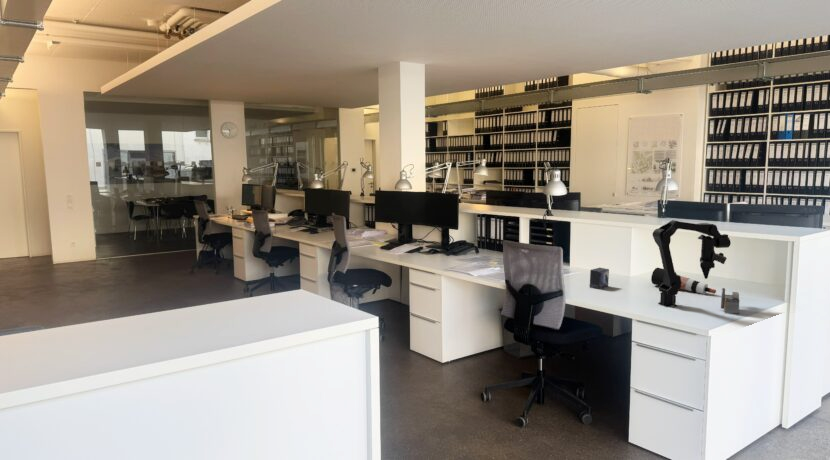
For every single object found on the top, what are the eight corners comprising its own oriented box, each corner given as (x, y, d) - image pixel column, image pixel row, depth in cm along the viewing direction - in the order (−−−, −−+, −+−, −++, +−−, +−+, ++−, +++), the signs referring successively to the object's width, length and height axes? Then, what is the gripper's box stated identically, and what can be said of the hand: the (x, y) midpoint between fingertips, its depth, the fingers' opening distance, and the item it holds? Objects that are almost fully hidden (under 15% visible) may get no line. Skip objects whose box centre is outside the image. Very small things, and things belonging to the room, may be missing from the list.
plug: (720, 310, 272) (722, 288, 271) (720, 308, 276) (721, 287, 275) (736, 311, 269) (737, 290, 268) (735, 309, 273) (736, 288, 272)
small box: (599, 289, 320) (599, 271, 318) (589, 287, 324) (589, 269, 323) (609, 286, 326) (609, 268, 325) (598, 284, 331) (599, 267, 330)
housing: (724, 312, 269) (726, 294, 268) (723, 307, 278) (724, 290, 277) (738, 314, 266) (739, 295, 265) (736, 309, 275) (738, 291, 274)
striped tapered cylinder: (711, 304, 302) (710, 289, 297) (652, 287, 327) (650, 273, 322) (719, 293, 307) (719, 279, 302) (660, 277, 332) (659, 264, 327)
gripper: (727, 252, 271) (725, 283, 273) (724, 246, 288) (723, 276, 290) (701, 250, 276) (699, 281, 278) (700, 245, 292) (699, 274, 294)
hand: (706, 278), depth 285 cm, fingers closed
